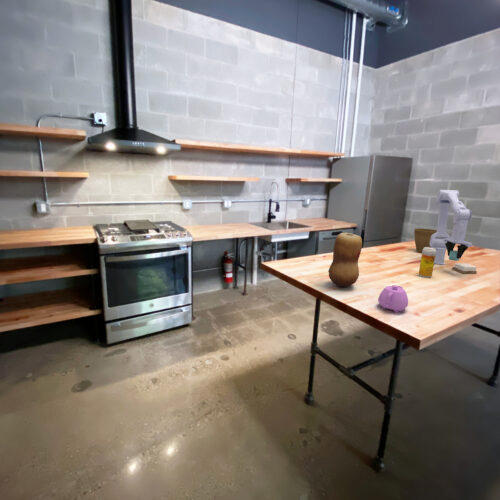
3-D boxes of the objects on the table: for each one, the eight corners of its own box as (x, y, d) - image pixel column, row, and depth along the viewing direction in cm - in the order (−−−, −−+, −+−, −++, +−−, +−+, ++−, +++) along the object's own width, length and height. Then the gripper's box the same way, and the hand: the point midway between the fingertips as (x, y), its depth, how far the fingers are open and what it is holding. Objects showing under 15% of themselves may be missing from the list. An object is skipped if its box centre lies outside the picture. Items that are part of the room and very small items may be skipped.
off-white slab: (463, 271, 162) (464, 267, 161) (454, 267, 169) (454, 263, 168) (475, 270, 162) (476, 267, 162) (465, 267, 169) (466, 263, 169)
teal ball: (449, 260, 159) (450, 251, 158) (448, 258, 163) (449, 249, 162) (459, 261, 157) (461, 252, 156) (458, 259, 161) (459, 251, 160)
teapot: (372, 309, 115) (375, 286, 113) (385, 298, 126) (388, 277, 124) (400, 318, 108) (404, 294, 106) (412, 305, 119) (416, 283, 117)
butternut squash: (353, 293, 130) (359, 237, 125) (323, 287, 137) (328, 234, 131) (360, 284, 142) (366, 233, 136) (332, 278, 149) (337, 229, 143)
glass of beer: (427, 278, 153) (432, 250, 149) (416, 274, 158) (420, 247, 155) (434, 276, 156) (439, 249, 152) (423, 273, 161) (427, 246, 157)
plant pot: (439, 255, 202) (444, 232, 198) (417, 254, 202) (421, 231, 198) (427, 250, 216) (431, 228, 213) (407, 249, 216) (410, 227, 213)
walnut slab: (462, 275, 162) (462, 271, 161) (451, 270, 170) (452, 267, 169) (476, 275, 162) (476, 271, 162) (465, 270, 170) (465, 267, 169)
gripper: (440, 230, 162) (436, 254, 165) (467, 235, 148) (461, 261, 152) (450, 229, 164) (446, 253, 167) (477, 234, 151) (471, 260, 154)
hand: (454, 257), depth 160 cm, fingers closed on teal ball, 5 cm apart
